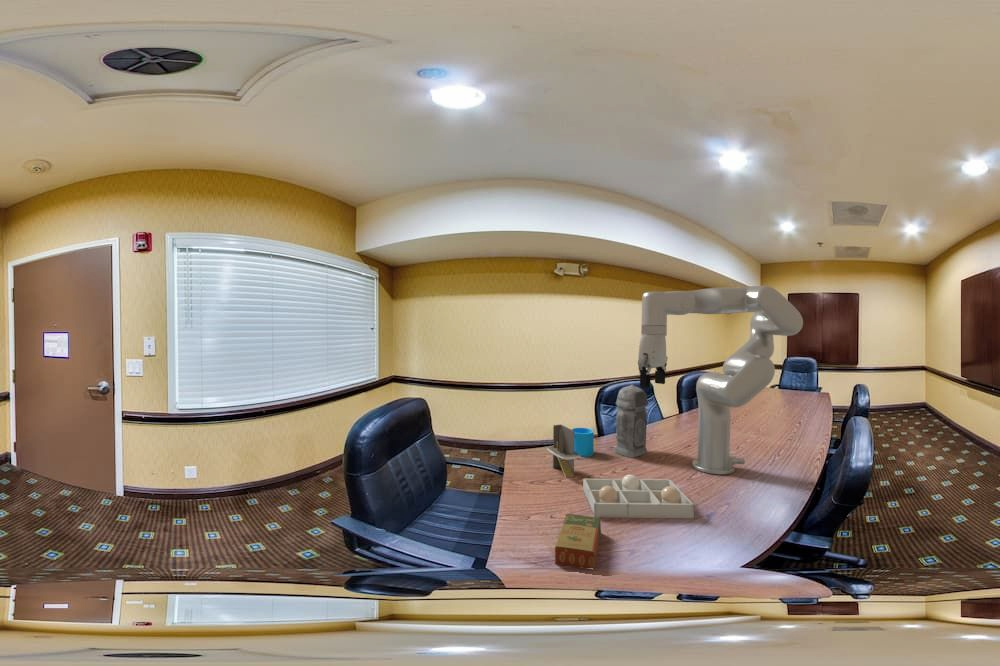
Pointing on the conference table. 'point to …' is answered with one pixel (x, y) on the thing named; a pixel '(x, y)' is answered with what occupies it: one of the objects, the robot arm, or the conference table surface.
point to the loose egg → (630, 482)
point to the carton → (578, 541)
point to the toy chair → (563, 449)
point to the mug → (583, 441)
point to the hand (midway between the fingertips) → (652, 385)
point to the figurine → (631, 422)
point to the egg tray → (636, 500)
